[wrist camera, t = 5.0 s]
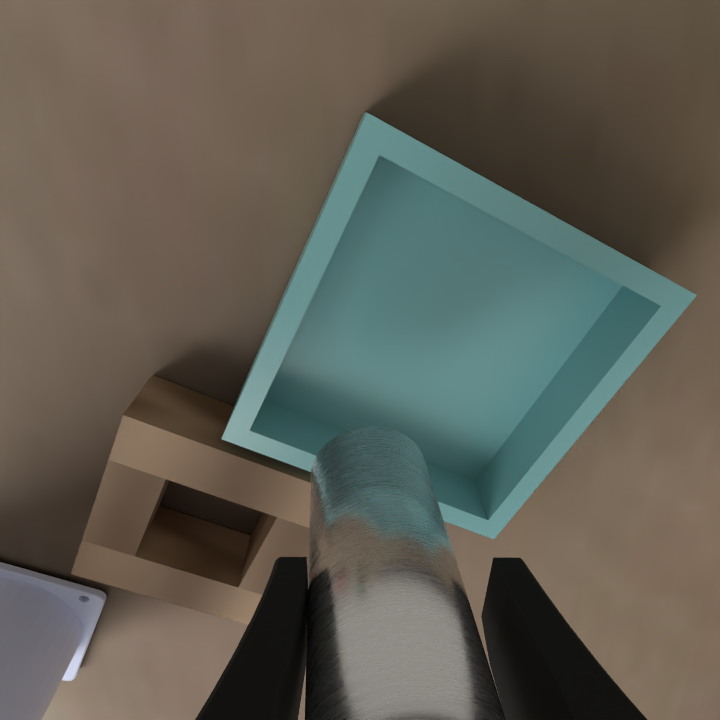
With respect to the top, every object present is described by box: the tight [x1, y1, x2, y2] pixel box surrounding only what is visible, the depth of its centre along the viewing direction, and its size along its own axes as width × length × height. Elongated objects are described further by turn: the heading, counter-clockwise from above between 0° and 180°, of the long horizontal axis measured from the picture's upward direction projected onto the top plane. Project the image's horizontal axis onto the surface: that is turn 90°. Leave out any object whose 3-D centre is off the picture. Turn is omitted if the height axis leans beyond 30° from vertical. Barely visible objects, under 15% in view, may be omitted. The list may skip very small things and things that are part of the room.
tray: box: [222, 112, 697, 539], centre depth 18 cm, size 12×12×3 cm
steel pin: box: [305, 426, 506, 720], centre depth 11 cm, size 4×4×9 cm
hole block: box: [71, 375, 311, 625], centre depth 22 cm, size 9×9×3 cm
